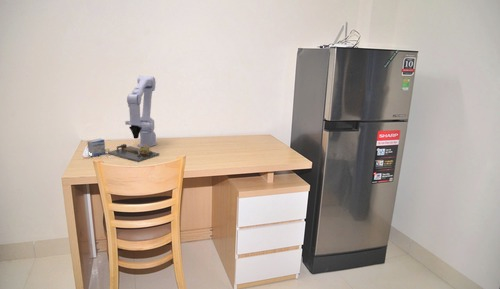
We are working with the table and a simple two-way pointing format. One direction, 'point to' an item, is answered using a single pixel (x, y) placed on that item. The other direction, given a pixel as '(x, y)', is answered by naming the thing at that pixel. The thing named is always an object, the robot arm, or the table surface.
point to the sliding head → (144, 149)
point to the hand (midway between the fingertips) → (136, 138)
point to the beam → (124, 147)
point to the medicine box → (96, 147)
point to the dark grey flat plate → (131, 154)
